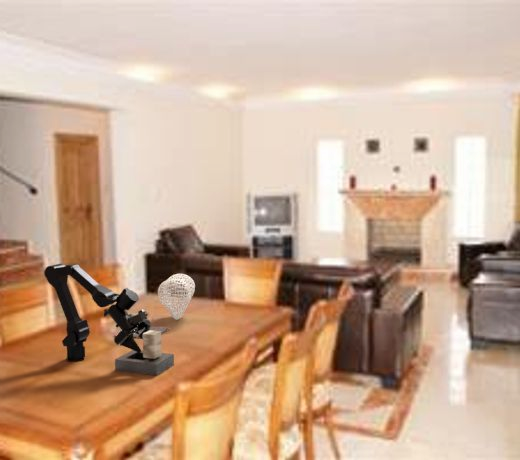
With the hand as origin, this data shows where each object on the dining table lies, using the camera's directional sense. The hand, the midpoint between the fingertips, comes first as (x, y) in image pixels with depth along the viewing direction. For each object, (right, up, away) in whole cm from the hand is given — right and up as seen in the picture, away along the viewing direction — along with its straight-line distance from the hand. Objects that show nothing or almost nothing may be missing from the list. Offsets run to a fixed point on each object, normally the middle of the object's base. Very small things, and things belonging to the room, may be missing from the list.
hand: (146, 348), depth 224 cm
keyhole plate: (-1, -7, +1) cm, 8 cm away
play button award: (-12, -3, +50) cm, 51 cm away
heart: (+1, 0, +74) cm, 74 cm away
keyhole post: (+2, -7, 0) cm, 7 cm away
